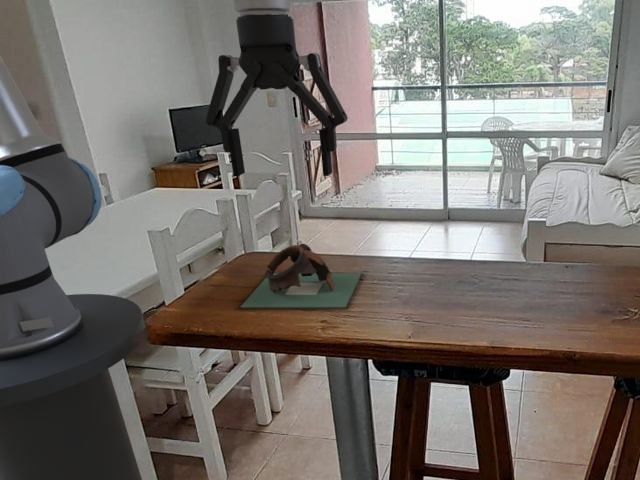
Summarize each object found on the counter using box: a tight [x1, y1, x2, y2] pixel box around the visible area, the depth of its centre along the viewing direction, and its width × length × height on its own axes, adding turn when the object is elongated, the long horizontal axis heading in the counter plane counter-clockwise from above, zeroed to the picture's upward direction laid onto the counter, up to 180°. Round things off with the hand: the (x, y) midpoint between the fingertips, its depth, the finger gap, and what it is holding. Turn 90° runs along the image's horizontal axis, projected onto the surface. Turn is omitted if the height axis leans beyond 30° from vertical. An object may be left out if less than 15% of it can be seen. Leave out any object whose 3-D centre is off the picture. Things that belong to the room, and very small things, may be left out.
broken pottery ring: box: [264, 243, 334, 293], centre depth 91 cm, size 12×9×8 cm
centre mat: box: [240, 272, 362, 310], centre depth 92 cm, size 16×14×1 cm
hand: (283, 174), depth 86 cm, fingers open, 13 cm apart
